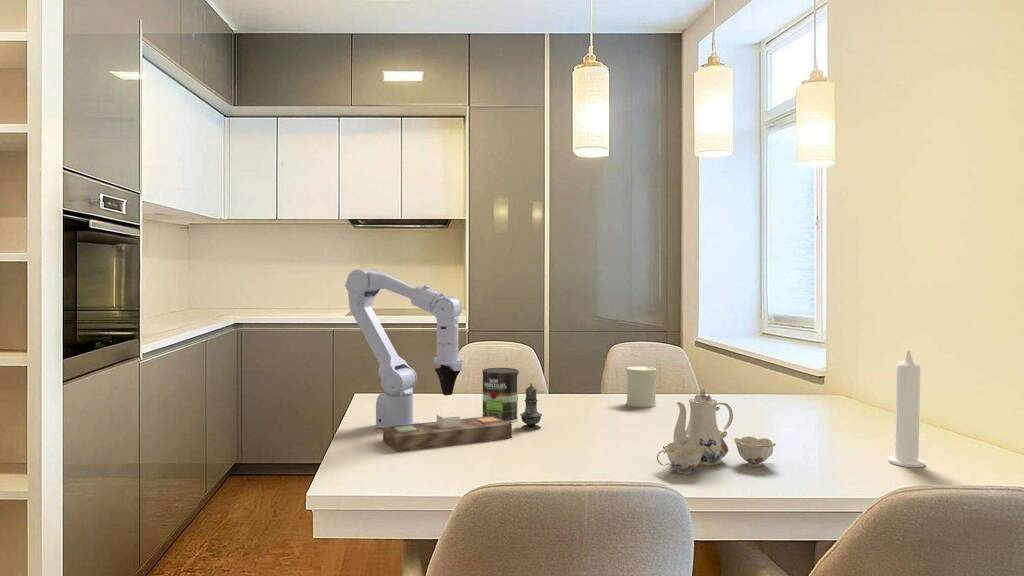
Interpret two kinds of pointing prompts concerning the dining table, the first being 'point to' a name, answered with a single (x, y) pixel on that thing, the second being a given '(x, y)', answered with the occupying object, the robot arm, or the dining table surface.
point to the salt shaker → (531, 410)
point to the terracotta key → (488, 420)
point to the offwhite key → (448, 420)
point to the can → (641, 386)
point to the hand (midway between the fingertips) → (447, 394)
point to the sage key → (405, 429)
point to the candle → (907, 414)
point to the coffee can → (500, 393)
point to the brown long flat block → (446, 434)
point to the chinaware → (709, 438)
